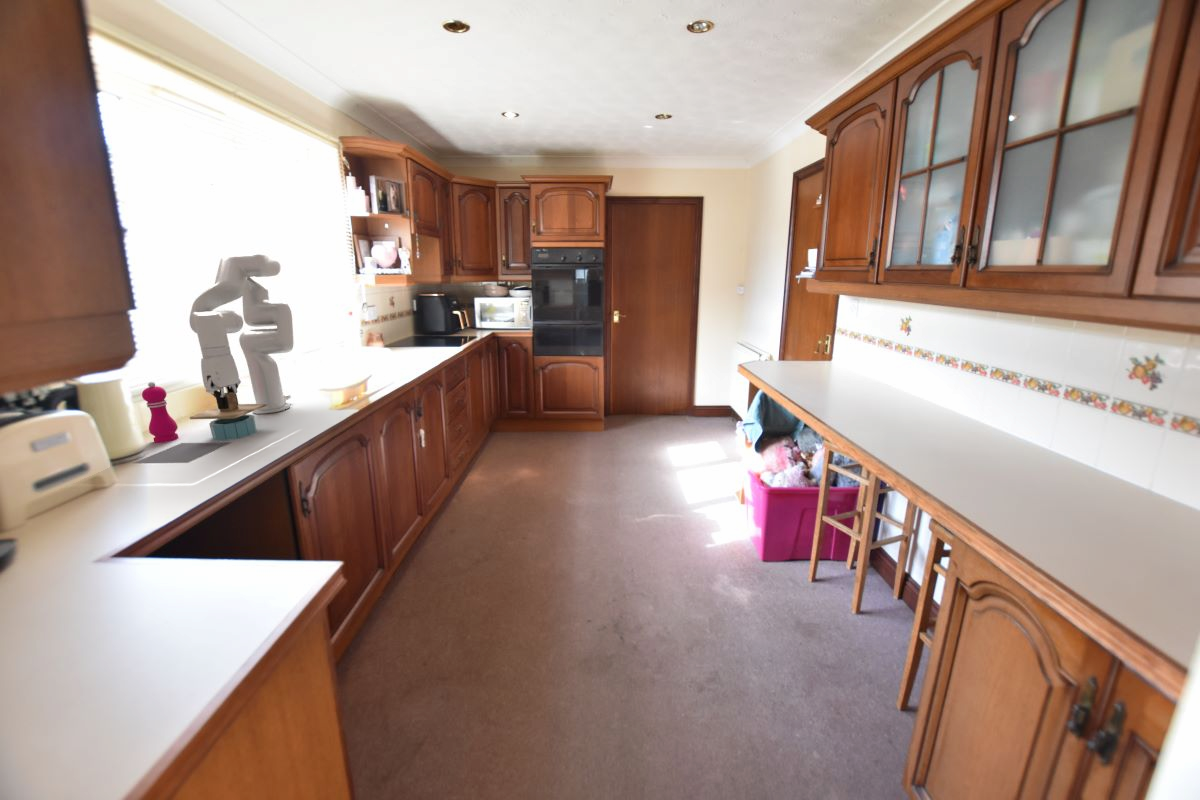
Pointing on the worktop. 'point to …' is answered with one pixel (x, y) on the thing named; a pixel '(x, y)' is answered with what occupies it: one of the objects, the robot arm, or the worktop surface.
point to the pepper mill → (159, 415)
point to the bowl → (233, 427)
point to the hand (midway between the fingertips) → (228, 406)
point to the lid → (229, 409)
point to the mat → (183, 453)
